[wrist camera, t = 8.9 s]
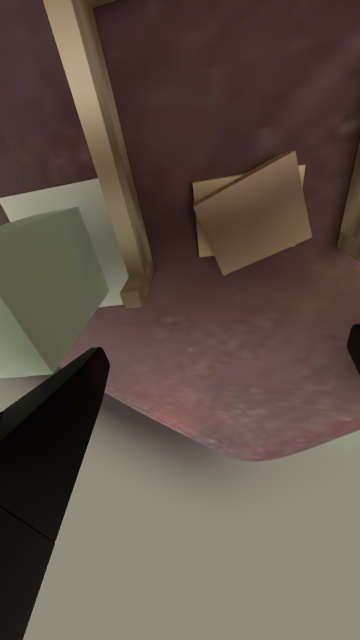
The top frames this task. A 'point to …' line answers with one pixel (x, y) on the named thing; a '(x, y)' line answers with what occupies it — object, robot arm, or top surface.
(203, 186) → the oak offcut
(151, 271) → the rack
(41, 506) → the robot arm
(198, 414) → the top surface
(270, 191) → the tan flat block
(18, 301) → the sage green prism
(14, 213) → the grey mat
